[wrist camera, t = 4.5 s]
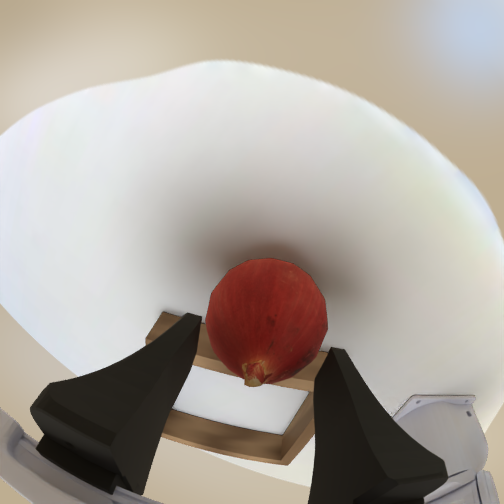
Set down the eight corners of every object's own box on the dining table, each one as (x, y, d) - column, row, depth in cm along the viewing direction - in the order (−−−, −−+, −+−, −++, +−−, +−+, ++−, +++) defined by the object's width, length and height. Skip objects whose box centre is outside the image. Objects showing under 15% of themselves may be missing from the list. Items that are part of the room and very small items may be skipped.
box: (344, 355, 19) (349, 386, 16) (289, 441, 24) (287, 465, 21) (162, 311, 19) (145, 338, 16) (161, 410, 24) (152, 433, 21)
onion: (340, 276, 16) (369, 378, 9) (279, 335, 19) (270, 439, 11) (262, 215, 16) (237, 293, 8) (205, 286, 18) (158, 382, 10)
